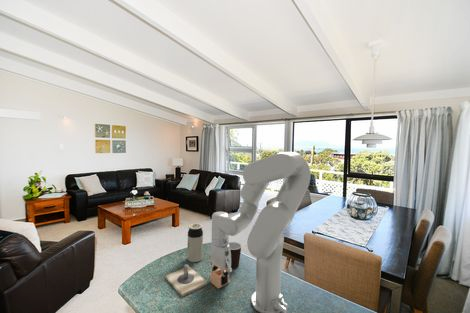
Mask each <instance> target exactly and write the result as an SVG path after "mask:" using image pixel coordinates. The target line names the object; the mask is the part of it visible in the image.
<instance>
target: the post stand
mask: <svg viewBox="0 0 470 313" xmlns="http://www.w3.org/2000/svg"><path fill="white" fill-rule="evenodd" d="M165 279H166V280H167V282H168V283H169V285H171V286H172V287H173V288H174V290H176V292H177V293H178V294H179V295H180V297H181V298H184V297H185V296H187V295H190V294H191V293H193V292H196V291H198V290H199V289H201V288H203V287H206V286H207V285H208V281H207V280H205V279H204V277H202V276H201V275H200V274H199V273H198V272H197V271H195V269H193V268H192V267H191V266H189V264H188V263H187V264H184V265H183V268H181V269H178V270H176V271H173V272H170V273H168V274H166V275H165Z"/></svg>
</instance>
